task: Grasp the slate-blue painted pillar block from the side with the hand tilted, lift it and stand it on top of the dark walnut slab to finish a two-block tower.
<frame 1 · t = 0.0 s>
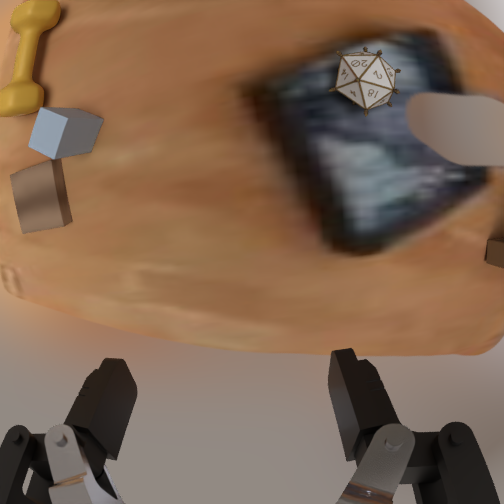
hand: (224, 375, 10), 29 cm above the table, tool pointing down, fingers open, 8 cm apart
pillar: (84, 129, 33), on the table
slab: (45, 194, 36), on the table
dumbbell: (41, 59, 27), on the table
game die: (354, 84, 31), on the table
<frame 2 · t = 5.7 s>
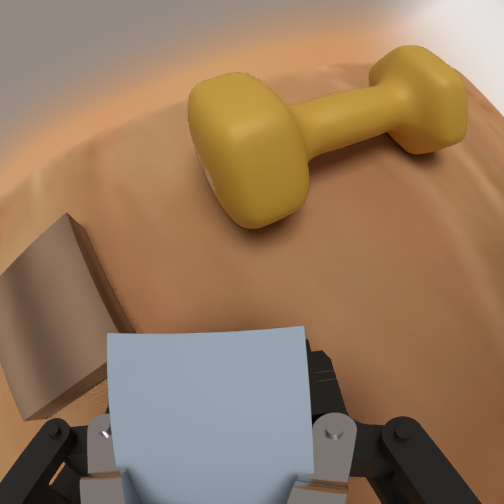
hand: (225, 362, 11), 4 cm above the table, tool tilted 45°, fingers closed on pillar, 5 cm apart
pillar: (239, 395, 14), on the table, touching gripper
slab: (62, 325, 16), on the table
dumbbell: (336, 159, 20), on the table
when the fingers open (9 cm above the table, at t = 9.9 s): pillar drops 2 cm, point 2 cm above the table.
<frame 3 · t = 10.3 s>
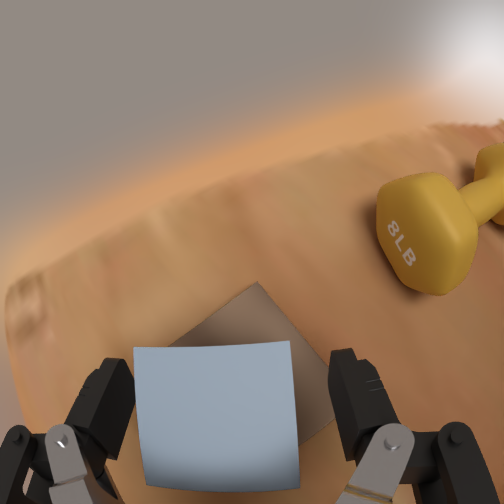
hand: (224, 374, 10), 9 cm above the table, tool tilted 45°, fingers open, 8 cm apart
pillar: (240, 394, 16), point 2 cm above the table
slab: (245, 388, 19), on the table
dumbbell: (452, 226, 22), on the table
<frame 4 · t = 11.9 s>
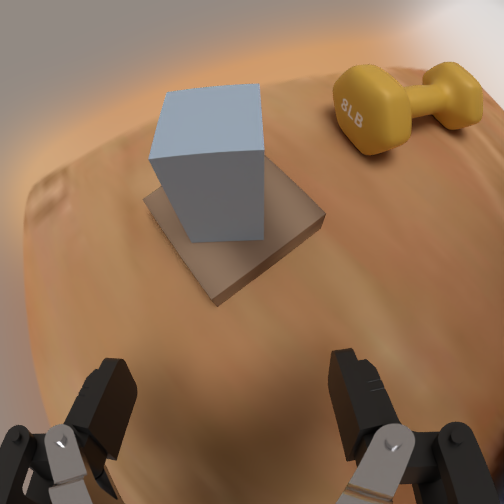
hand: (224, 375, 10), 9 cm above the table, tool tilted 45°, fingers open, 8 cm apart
pillar: (227, 209, 21), point 2 cm above the table, touching slab
slab: (233, 223, 24), on the table, touching pillar
dumbbell: (406, 127, 27), on the table
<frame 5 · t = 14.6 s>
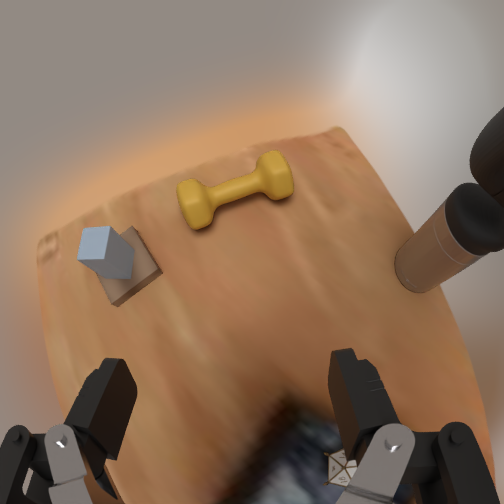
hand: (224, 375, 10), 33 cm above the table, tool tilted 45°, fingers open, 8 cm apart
pillar: (119, 264, 45), point 2 cm above the table, touching slab
slab: (128, 269, 48), on the table, touching pillar
dumbbell: (237, 202, 51), on the table
game die: (345, 458, 34), on the table
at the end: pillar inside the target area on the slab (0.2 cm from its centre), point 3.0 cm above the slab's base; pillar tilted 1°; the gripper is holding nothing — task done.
